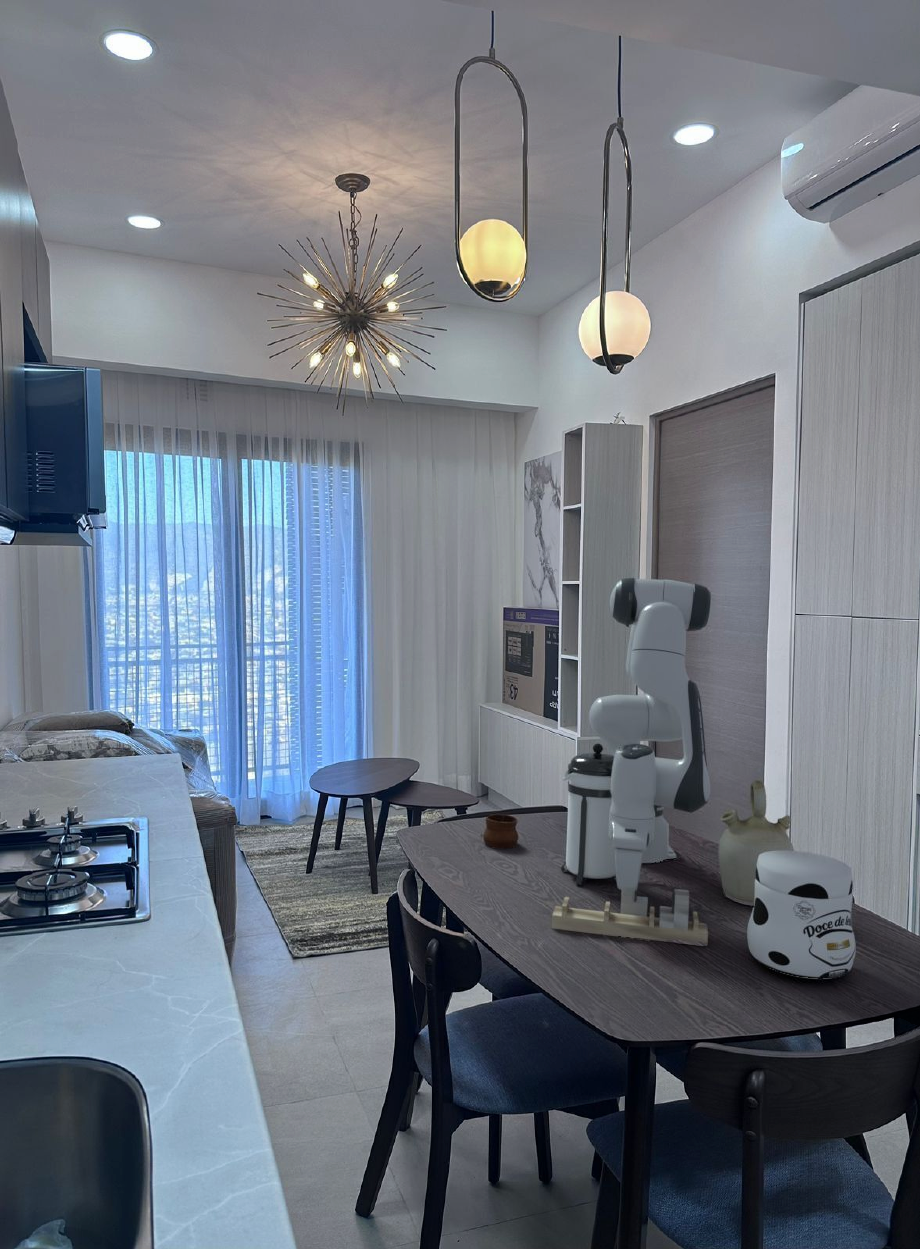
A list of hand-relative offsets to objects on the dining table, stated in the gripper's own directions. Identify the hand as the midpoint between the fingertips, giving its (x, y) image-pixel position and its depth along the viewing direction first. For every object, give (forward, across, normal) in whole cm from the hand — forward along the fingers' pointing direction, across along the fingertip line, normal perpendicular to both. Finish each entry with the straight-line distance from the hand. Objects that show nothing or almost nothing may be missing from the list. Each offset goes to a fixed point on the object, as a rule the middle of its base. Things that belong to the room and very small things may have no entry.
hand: (628, 897), depth 171 cm
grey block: (+3, 0, +1) cm, 3 cm away
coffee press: (+4, -22, -8) cm, 23 cm away
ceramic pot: (+5, -39, -33) cm, 51 cm away
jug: (+4, -19, +25) cm, 32 cm away
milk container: (+3, +15, +30) cm, 34 cm away
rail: (+3, +9, +1) cm, 10 cm away
